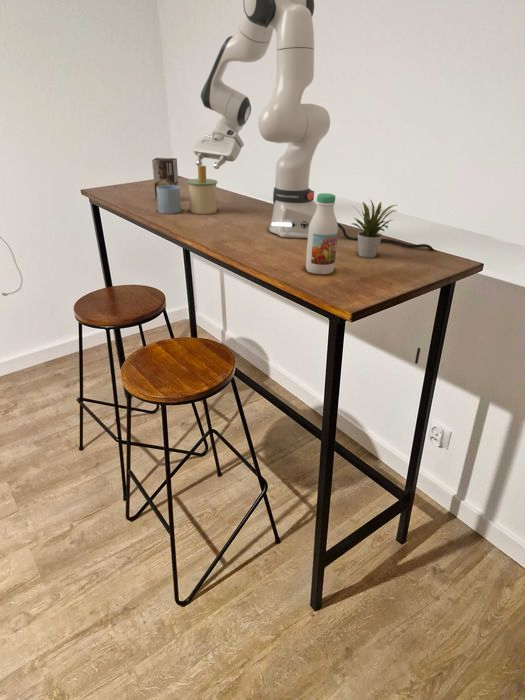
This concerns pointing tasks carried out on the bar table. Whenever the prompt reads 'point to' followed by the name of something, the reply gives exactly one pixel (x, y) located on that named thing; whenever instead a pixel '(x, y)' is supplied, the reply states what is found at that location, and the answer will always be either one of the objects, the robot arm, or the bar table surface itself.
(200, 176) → the lid
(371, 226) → the house plant
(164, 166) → the coffee box
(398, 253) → the bar table surface
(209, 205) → the wooden container
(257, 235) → the bar table surface
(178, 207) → the cup
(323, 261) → the milk bottle
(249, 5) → the robot arm
